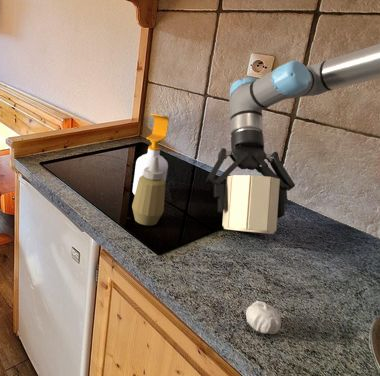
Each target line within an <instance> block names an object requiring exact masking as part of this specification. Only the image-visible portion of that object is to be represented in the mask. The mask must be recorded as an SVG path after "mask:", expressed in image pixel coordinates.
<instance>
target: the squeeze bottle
mask: <svg viewBox="0 0 380 376" xmlns="http://www.w3.org/2000/svg"><path fill="white" fill-rule="evenodd" d="M162 176H163V171H162V170H161V169H159V162H158V156H153V158H152V161H151V163H150V166H149V167H147V168H145V169H144V173H143V176H141V177H140V178H139V181H138V185H137V189H136V193H135V195H134V196H133V201H132V204H131V208H132V213H133V217H134V221H135V222H136V223H137V224H139V225H142V226H149V227H150V226H155V225H157V224H158V222H159V220H160V219H161V217H162V215H163V214H164V211H165V196H166V182H165V180H164V179H163V178H162Z"/></svg>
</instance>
